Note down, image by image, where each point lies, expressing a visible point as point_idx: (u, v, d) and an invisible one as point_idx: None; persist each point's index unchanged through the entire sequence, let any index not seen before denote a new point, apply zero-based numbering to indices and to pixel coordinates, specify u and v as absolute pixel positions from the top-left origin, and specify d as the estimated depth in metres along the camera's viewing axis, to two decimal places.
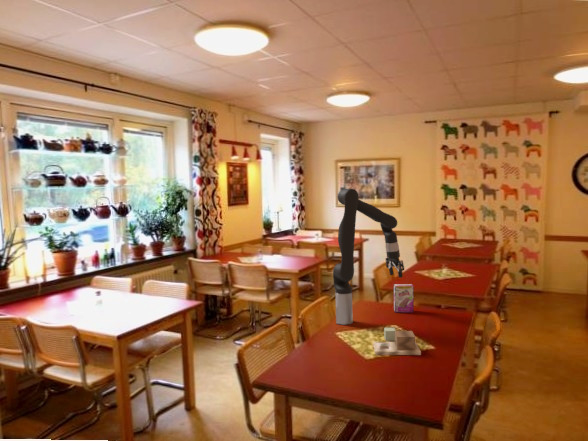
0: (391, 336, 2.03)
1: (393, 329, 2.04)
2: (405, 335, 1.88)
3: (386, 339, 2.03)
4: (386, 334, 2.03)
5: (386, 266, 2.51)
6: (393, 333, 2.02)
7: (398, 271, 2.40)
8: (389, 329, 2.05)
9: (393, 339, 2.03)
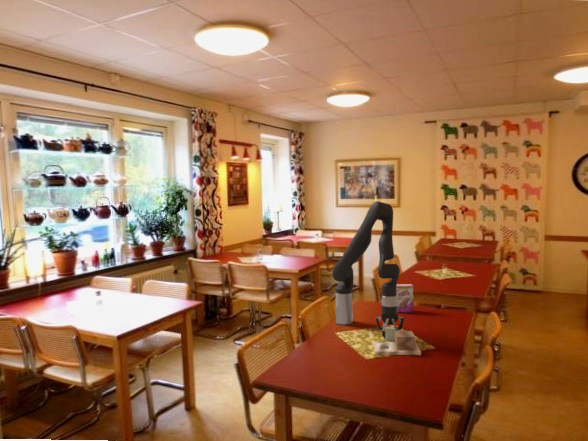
0: (391, 336, 2.03)
1: (393, 329, 2.04)
2: (405, 335, 1.88)
3: (386, 339, 2.03)
4: (386, 334, 2.03)
5: None
6: (393, 333, 2.02)
7: None
8: (389, 329, 2.05)
9: (393, 339, 2.03)
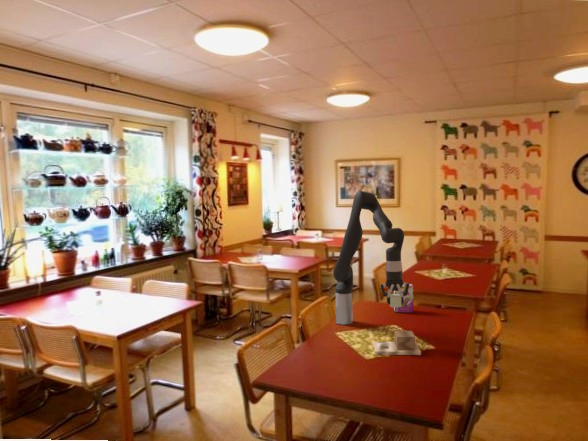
0: (396, 302, 1.97)
1: (398, 295, 1.99)
2: (405, 335, 1.88)
3: (391, 305, 1.97)
4: (391, 301, 1.97)
5: None
6: (398, 299, 1.97)
7: None
8: (394, 295, 1.99)
9: (399, 305, 1.97)
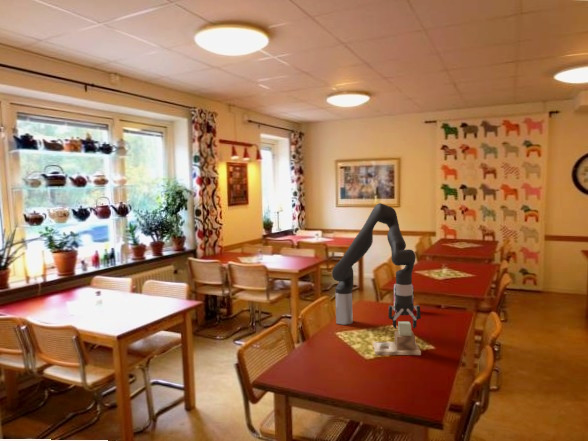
0: (406, 331, 1.88)
1: (408, 323, 1.90)
2: None
3: (400, 334, 1.88)
4: (401, 329, 1.88)
5: None
6: (408, 327, 1.87)
7: None
8: (404, 323, 1.90)
9: (408, 334, 1.88)
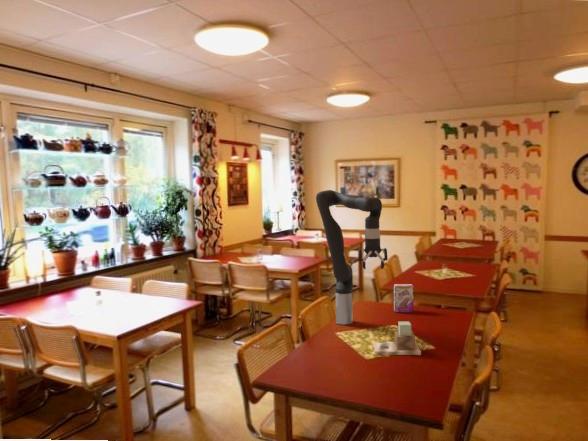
0: (406, 331, 1.88)
1: (408, 323, 1.90)
2: None
3: (400, 334, 1.88)
4: (401, 329, 1.88)
5: None
6: (408, 327, 1.87)
7: None
8: (404, 323, 1.90)
9: (408, 334, 1.88)
